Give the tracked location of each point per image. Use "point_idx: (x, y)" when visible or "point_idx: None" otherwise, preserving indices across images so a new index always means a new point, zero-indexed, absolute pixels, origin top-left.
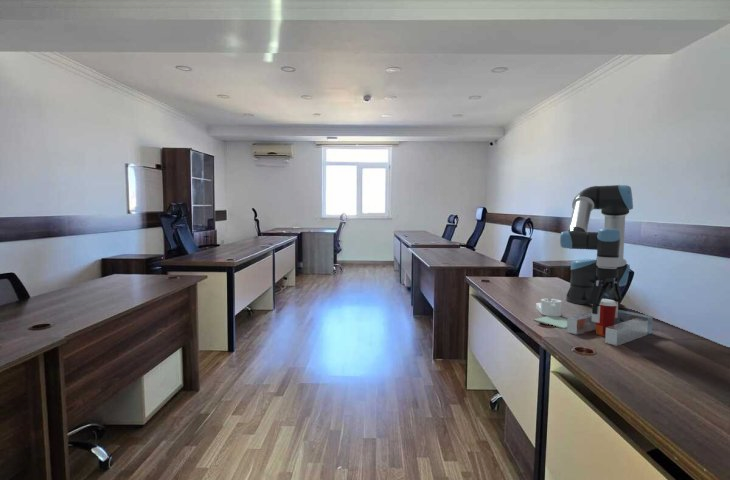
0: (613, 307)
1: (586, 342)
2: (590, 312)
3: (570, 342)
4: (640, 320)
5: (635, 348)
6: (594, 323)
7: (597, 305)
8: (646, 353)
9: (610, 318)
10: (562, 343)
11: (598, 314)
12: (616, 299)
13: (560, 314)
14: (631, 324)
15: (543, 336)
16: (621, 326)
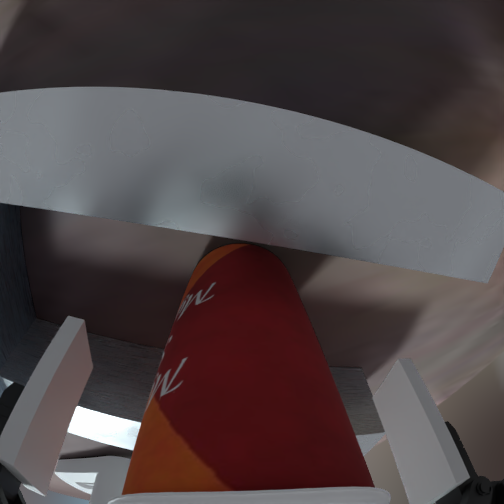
0: (319, 466)
1: (457, 296)
2: (112, 442)
3: (476, 331)
4: None
5: (420, 67)
6: None
7: (488, 481)
8: (457, 22)
9: (309, 347)
10: (492, 339)
11: (438, 415)
12: (3, 496)
13: (122, 462)
14: (221, 123)
15: (440, 402)
16: (407, 194)
